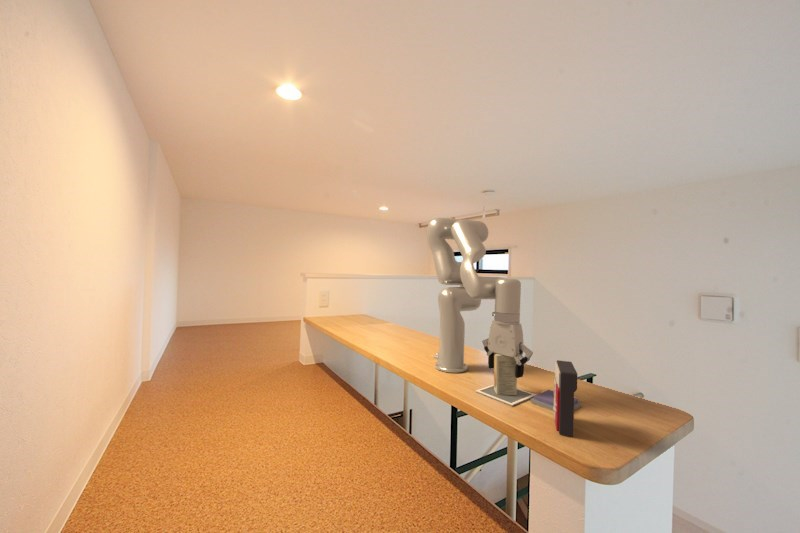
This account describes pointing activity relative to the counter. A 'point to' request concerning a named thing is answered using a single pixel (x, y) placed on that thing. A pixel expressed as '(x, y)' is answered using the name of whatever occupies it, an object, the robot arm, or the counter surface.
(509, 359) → the skincare box
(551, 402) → the ink pad
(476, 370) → the counter surface
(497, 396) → the white picture frame
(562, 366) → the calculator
